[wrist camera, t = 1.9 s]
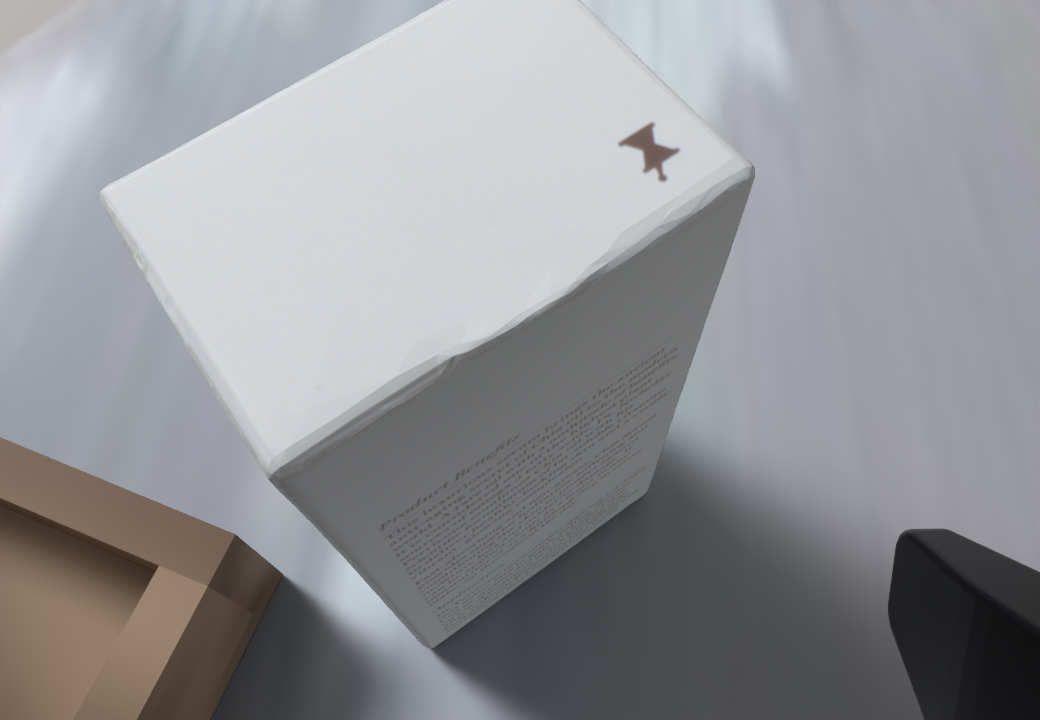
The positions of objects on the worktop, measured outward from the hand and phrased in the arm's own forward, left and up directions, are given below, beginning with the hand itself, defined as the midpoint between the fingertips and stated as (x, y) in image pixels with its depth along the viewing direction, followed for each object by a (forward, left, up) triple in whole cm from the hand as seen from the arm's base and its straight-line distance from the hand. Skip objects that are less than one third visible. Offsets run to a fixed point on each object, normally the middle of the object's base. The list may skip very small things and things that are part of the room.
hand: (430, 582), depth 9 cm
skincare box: (+4, +2, -11) cm, 12 cm away
